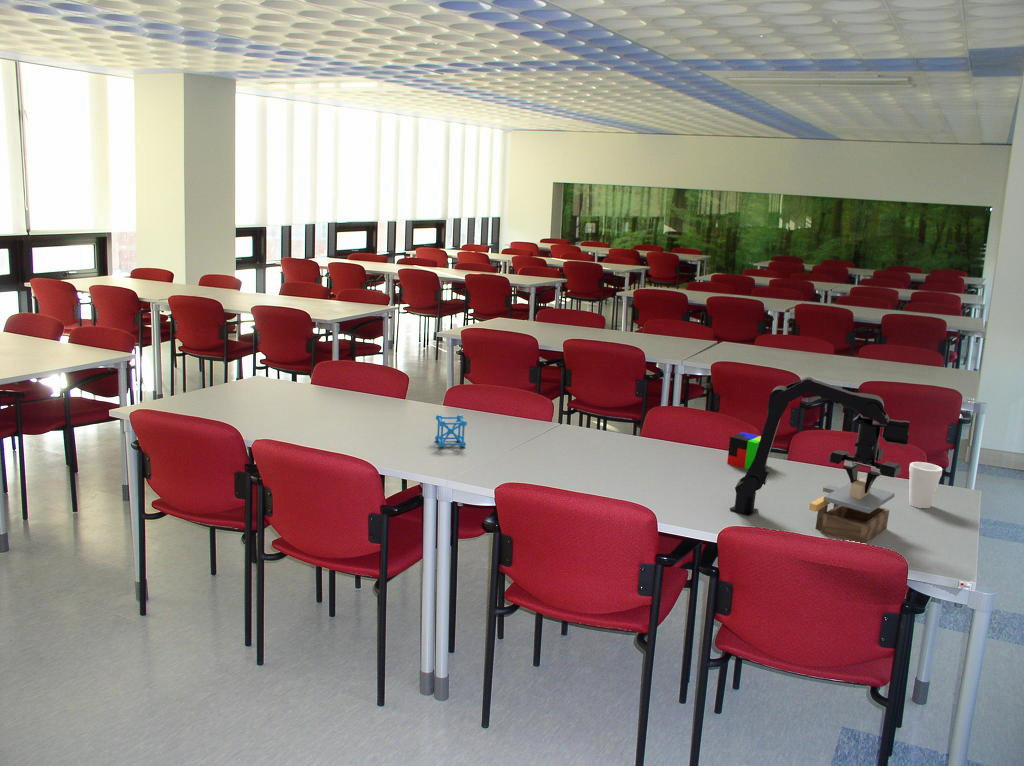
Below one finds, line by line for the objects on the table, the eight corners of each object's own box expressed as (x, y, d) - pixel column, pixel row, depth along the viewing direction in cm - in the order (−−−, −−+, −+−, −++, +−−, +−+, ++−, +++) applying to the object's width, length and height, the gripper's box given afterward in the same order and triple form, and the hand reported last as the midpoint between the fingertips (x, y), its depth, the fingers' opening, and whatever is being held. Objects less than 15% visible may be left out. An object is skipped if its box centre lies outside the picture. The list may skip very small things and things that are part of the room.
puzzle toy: (739, 458, 328) (742, 431, 326) (765, 464, 322) (768, 438, 320) (727, 463, 321) (730, 436, 318) (753, 470, 315) (756, 443, 312)
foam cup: (897, 502, 290) (904, 464, 287) (914, 498, 295) (920, 460, 292) (925, 512, 282) (932, 472, 279) (941, 507, 287) (948, 468, 284)
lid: (869, 513, 249) (871, 495, 248) (811, 497, 259) (813, 480, 258) (894, 497, 264) (896, 480, 262) (838, 482, 274) (841, 466, 273)
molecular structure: (438, 448, 319) (439, 421, 317) (434, 440, 328) (435, 413, 326) (466, 448, 321) (467, 421, 319) (461, 440, 331) (462, 413, 329)
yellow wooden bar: (815, 511, 255) (816, 505, 254) (809, 509, 256) (809, 503, 256) (829, 503, 262) (830, 497, 262) (823, 501, 264) (824, 495, 263)
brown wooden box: (862, 546, 252) (866, 521, 250) (811, 530, 261) (815, 507, 259) (886, 529, 266) (890, 505, 264) (837, 515, 275) (840, 492, 273)
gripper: (911, 442, 256) (902, 494, 260) (846, 427, 268) (839, 477, 272) (897, 449, 248) (889, 502, 252) (831, 434, 260) (824, 485, 263)
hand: (860, 491), depth 260 cm, fingers closed on lid, 3 cm apart
